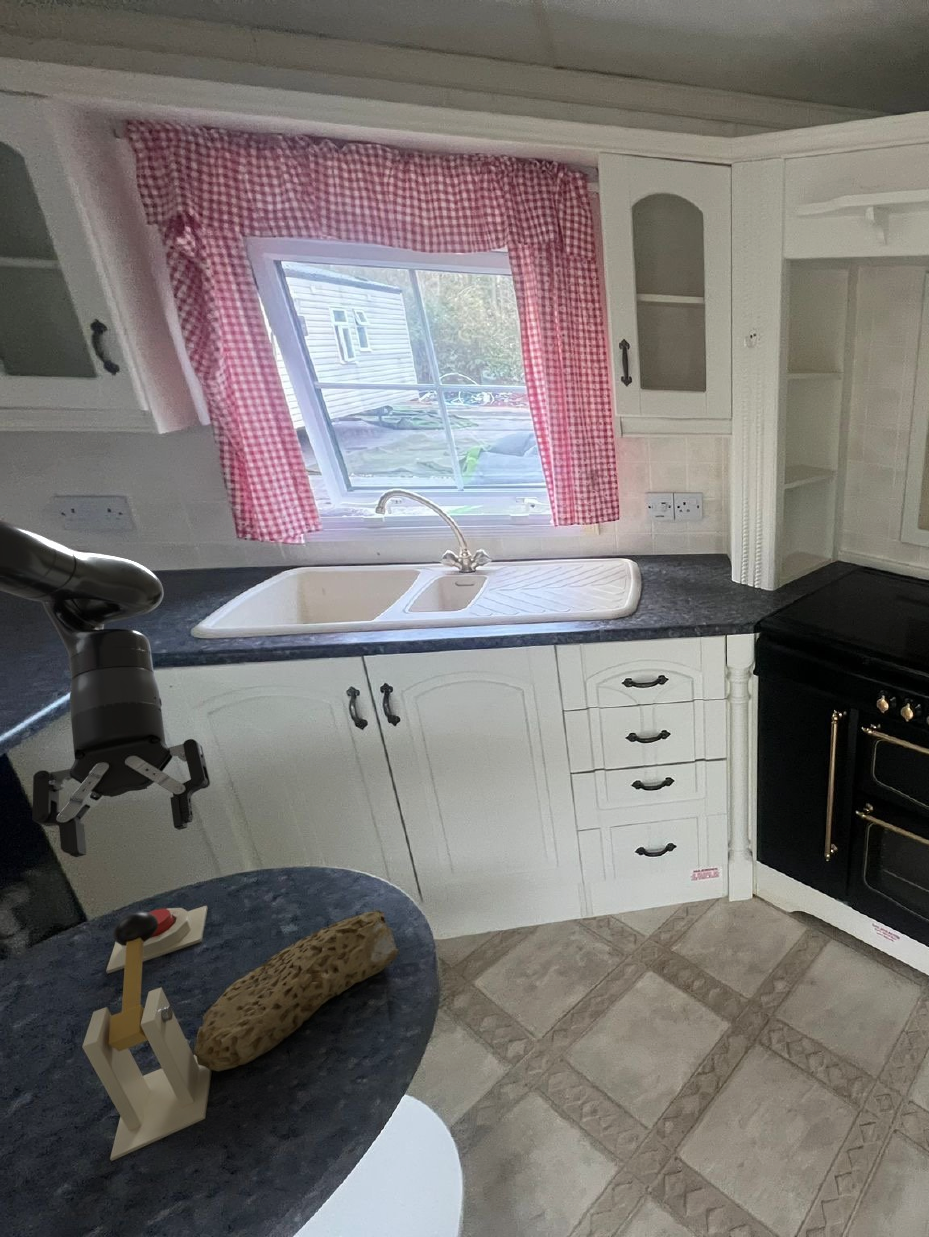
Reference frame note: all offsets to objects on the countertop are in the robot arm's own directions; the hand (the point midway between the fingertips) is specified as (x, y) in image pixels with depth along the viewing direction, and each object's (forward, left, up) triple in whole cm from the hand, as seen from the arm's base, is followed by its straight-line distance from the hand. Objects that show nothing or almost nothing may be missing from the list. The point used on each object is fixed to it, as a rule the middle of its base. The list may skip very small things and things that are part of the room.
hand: (131, 841), depth 76 cm
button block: (-4, +9, -22) cm, 24 cm away
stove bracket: (0, -19, -22) cm, 29 cm away
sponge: (+12, -12, -22) cm, 28 cm away
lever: (0, -13, -10) cm, 16 cm away
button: (-4, +9, -20) cm, 22 cm away
